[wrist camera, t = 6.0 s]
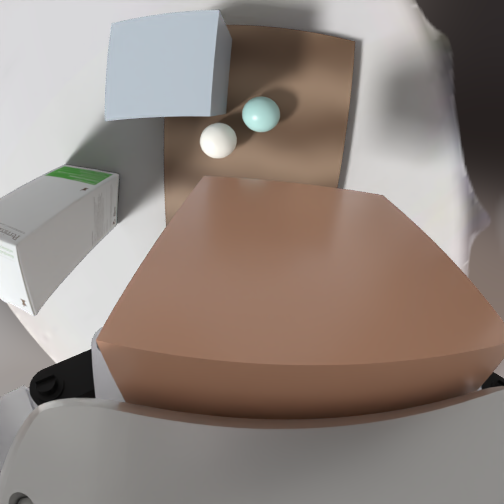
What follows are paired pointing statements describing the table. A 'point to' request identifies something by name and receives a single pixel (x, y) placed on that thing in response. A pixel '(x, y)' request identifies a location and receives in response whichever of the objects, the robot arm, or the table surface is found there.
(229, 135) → the marble ivory
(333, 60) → the walnut board
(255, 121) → the marble teal
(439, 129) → the table surface
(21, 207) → the skincare box
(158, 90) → the pale blue cube
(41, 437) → the robot arm
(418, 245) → the peach cube block
